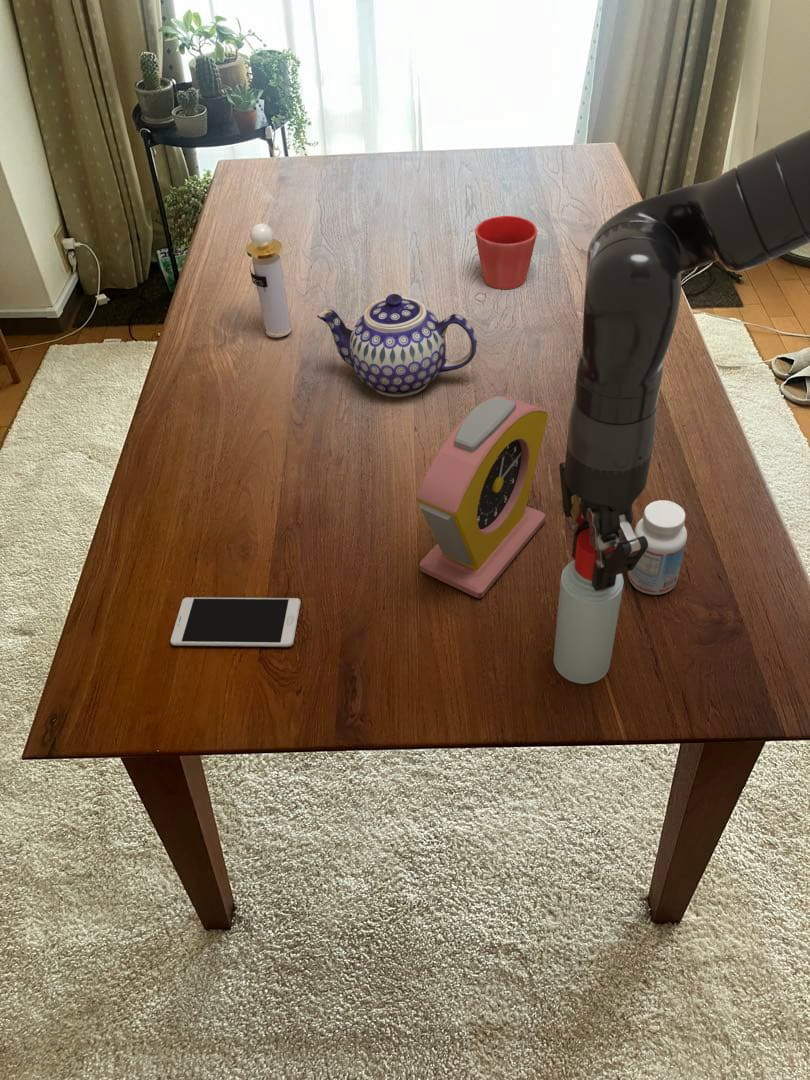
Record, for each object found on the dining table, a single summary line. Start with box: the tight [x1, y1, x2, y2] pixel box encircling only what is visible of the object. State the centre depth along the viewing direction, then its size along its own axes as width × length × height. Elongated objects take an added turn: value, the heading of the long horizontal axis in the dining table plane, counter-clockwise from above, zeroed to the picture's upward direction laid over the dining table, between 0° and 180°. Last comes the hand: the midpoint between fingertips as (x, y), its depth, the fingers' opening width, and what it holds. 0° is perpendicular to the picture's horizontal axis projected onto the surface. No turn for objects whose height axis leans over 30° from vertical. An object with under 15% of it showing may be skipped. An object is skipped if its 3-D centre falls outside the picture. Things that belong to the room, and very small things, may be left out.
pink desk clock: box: [416, 395, 549, 599], centre depth 109 cm, size 22×9×22 cm, turn 145°
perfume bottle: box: [245, 222, 292, 338], centre depth 148 cm, size 6×6×20 cm
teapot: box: [316, 293, 478, 398], centre depth 139 cm, size 25×15×15 cm, turn 76°
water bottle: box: [552, 559, 625, 685], centre depth 96 cm, size 6×6×19 cm
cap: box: [575, 528, 613, 580], centre depth 90 cm, size 4×4×4 cm
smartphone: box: [169, 596, 302, 648], centre depth 109 cm, size 8×1×15 cm
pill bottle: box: [627, 499, 688, 596], centre depth 107 cm, size 6×6×11 cm
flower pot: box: [474, 215, 538, 290], centre depth 161 cm, size 11×11×10 cm
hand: (592, 571), depth 92 cm, fingers closed on cap, 4 cm apart
